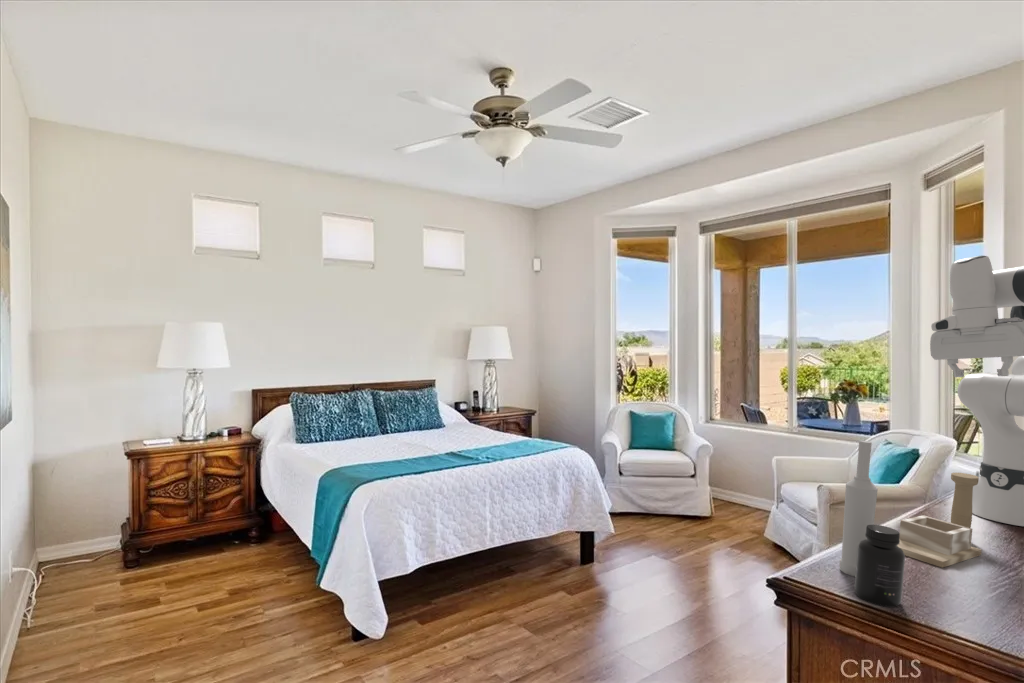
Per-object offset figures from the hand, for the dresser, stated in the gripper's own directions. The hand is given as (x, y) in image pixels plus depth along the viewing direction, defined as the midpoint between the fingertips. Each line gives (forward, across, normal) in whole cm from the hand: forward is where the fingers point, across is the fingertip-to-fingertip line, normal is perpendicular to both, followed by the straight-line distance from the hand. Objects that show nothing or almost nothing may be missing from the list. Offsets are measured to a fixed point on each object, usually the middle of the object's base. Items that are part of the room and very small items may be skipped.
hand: (980, 376), depth 141 cm
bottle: (+36, -6, +60) cm, 70 cm away
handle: (+38, +1, +13) cm, 40 cm away
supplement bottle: (+36, -15, +67) cm, 77 cm away
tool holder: (+37, -2, +30) cm, 47 cm away
